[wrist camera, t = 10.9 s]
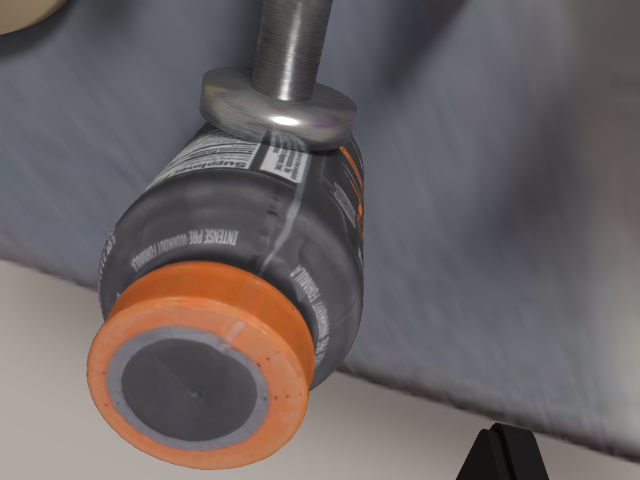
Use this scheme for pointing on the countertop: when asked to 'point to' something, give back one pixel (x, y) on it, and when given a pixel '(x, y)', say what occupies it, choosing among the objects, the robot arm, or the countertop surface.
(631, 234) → the countertop surface
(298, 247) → the pill bottle
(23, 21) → the wooden coaster
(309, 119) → the plunger rod
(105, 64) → the countertop surface
